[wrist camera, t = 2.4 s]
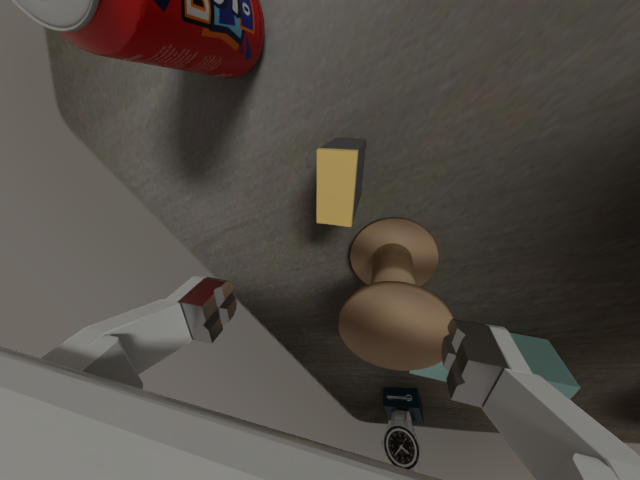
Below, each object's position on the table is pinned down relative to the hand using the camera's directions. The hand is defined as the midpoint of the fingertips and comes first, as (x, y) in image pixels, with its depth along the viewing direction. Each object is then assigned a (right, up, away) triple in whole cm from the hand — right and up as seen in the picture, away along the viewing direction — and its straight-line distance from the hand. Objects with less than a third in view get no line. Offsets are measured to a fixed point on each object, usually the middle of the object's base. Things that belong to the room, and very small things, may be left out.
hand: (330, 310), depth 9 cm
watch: (+14, -24, +33) cm, 43 cm away
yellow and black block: (+3, +10, +17) cm, 20 cm away
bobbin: (+8, +1, +20) cm, 22 cm away
